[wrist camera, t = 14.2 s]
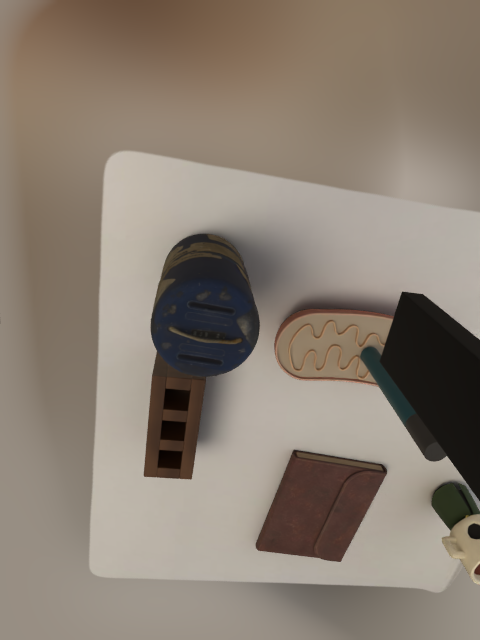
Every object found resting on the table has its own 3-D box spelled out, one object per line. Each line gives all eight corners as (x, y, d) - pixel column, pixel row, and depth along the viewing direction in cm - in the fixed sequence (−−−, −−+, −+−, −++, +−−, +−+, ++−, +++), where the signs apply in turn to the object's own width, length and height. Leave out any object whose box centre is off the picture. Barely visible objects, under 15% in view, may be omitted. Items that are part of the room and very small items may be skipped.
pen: (357, 351, 53) (421, 448, 37) (374, 343, 52) (445, 437, 37) (364, 365, 54) (428, 465, 38) (380, 357, 53) (452, 454, 38)
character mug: (486, 478, 70) (543, 551, 59) (472, 511, 73) (524, 586, 61) (421, 477, 69) (466, 551, 57) (410, 510, 72) (450, 587, 60)
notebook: (255, 541, 72) (256, 552, 71) (292, 449, 65) (294, 459, 63) (339, 552, 75) (342, 562, 73) (384, 464, 67) (389, 474, 66)
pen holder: (149, 440, 62) (143, 476, 56) (157, 346, 56) (152, 375, 50) (192, 443, 63) (191, 479, 56) (205, 351, 57) (205, 380, 50)
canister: (184, 216, 49) (175, 264, 33) (258, 252, 52) (284, 314, 35) (151, 288, 53) (128, 364, 36) (222, 319, 55) (230, 403, 39)
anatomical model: (262, 355, 58) (267, 375, 53) (280, 285, 54) (287, 301, 49) (421, 378, 61) (439, 399, 57) (449, 314, 57) (470, 331, 53)
